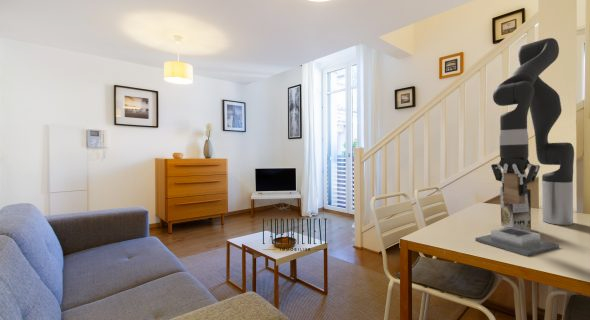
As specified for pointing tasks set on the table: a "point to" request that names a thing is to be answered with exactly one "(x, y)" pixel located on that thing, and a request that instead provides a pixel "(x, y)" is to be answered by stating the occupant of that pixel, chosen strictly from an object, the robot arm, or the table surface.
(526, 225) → the coffee box
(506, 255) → the table surface
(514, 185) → the brown rectangular block
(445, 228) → the table surface
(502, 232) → the stepped grey base plate
